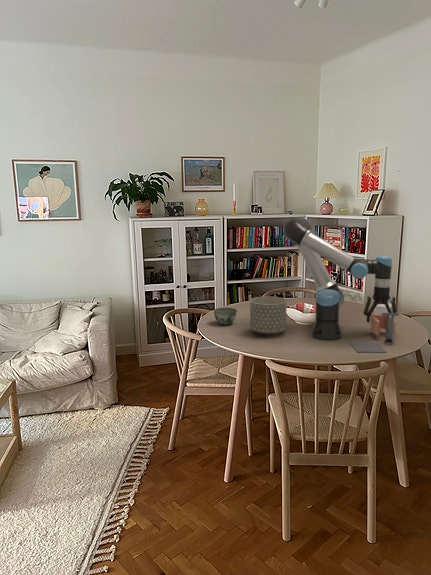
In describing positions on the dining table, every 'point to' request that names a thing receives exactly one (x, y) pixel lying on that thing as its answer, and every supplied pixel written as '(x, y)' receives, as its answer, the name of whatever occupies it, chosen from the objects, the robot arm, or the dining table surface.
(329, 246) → the robot arm
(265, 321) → the planter
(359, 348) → the mat
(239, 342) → the dining table surface
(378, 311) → the cup
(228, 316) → the bowl
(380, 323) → the c link
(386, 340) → the stand
